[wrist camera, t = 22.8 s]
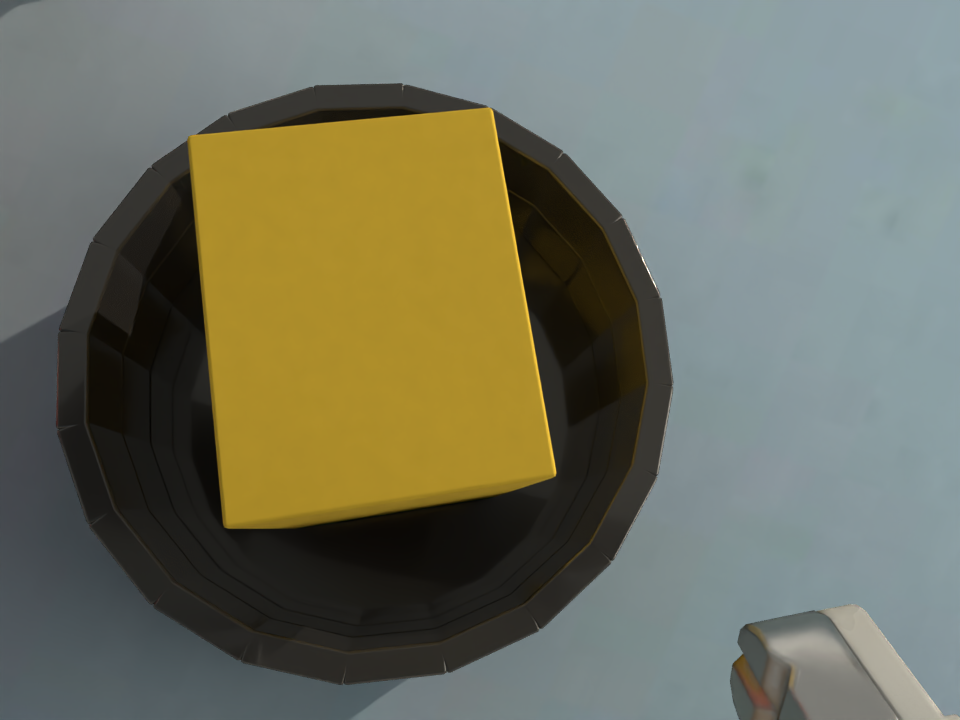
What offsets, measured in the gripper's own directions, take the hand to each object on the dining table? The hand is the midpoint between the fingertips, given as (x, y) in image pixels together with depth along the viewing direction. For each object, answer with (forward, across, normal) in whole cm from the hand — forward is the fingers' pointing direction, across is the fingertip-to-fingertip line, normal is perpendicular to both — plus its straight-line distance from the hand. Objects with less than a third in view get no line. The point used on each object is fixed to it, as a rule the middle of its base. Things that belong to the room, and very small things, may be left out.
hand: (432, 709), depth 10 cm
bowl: (+11, 0, +3) cm, 11 cm away
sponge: (+10, 0, +2) cm, 11 cm away
